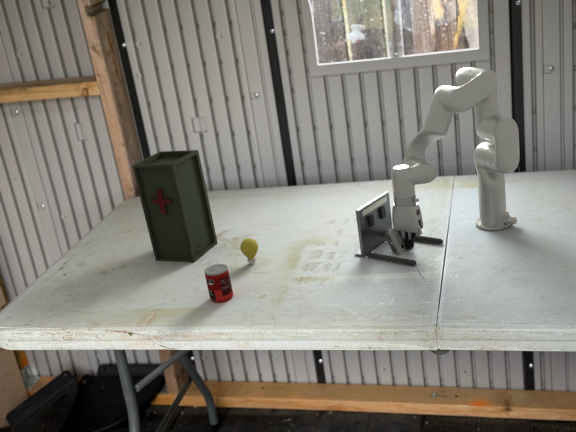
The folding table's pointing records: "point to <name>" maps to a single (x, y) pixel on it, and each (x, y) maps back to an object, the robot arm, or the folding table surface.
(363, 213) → the panel
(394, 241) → the electrical switch
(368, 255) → the cable near
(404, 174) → the robot arm
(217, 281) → the canned food
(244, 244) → the light bulb
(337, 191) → the folding table surface
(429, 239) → the cable far
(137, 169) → the first aid box
